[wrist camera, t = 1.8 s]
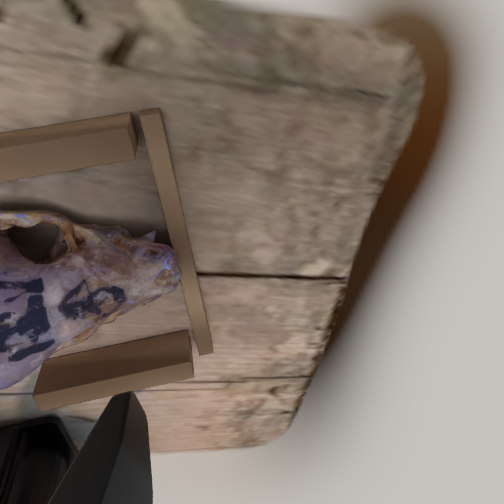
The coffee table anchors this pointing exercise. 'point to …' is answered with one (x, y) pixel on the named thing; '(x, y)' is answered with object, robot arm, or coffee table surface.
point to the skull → (72, 286)
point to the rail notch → (174, 344)
